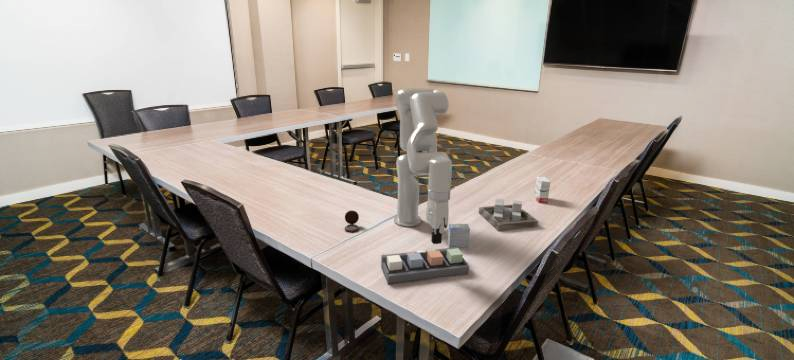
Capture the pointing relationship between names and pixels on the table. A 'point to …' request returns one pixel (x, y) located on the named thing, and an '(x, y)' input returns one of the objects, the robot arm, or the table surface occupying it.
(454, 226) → the medicine box
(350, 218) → the compass
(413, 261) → the key slate
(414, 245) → the table surface
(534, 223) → the square grey tray
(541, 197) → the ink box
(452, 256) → the key sage
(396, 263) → the key ivory
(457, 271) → the grey compartment tray
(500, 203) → the gray cube cluster
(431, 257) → the peach square block
